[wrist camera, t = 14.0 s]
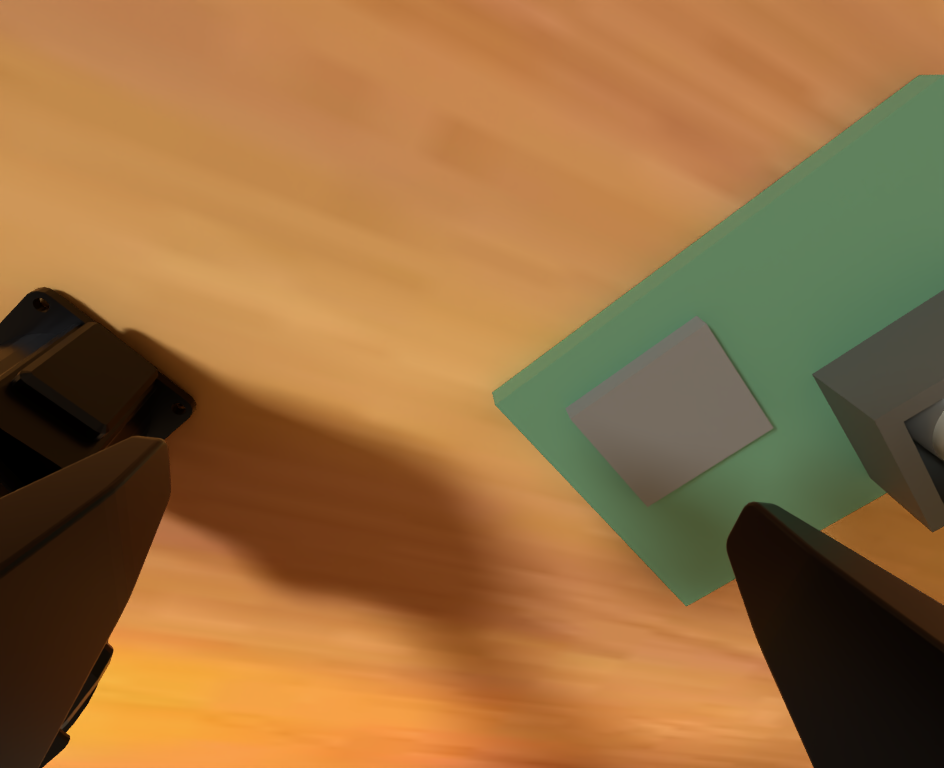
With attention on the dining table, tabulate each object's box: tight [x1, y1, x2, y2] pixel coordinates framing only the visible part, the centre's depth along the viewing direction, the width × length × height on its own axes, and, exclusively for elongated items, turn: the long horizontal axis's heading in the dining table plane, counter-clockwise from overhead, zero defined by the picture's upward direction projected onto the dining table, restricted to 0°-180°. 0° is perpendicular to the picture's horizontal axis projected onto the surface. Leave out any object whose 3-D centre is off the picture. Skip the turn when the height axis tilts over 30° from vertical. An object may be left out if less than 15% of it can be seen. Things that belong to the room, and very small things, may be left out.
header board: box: [492, 75, 944, 606], centre depth 22 cm, size 18×16×4 cm
